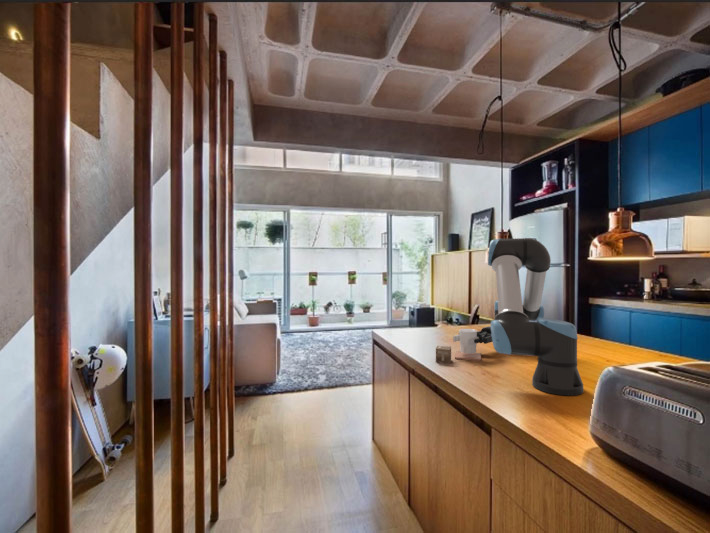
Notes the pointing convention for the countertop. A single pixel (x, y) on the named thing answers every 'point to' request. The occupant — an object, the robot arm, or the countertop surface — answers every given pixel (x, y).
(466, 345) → the white cup
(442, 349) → the letter block
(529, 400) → the countertop surface
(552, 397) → the countertop surface
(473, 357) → the coaster
